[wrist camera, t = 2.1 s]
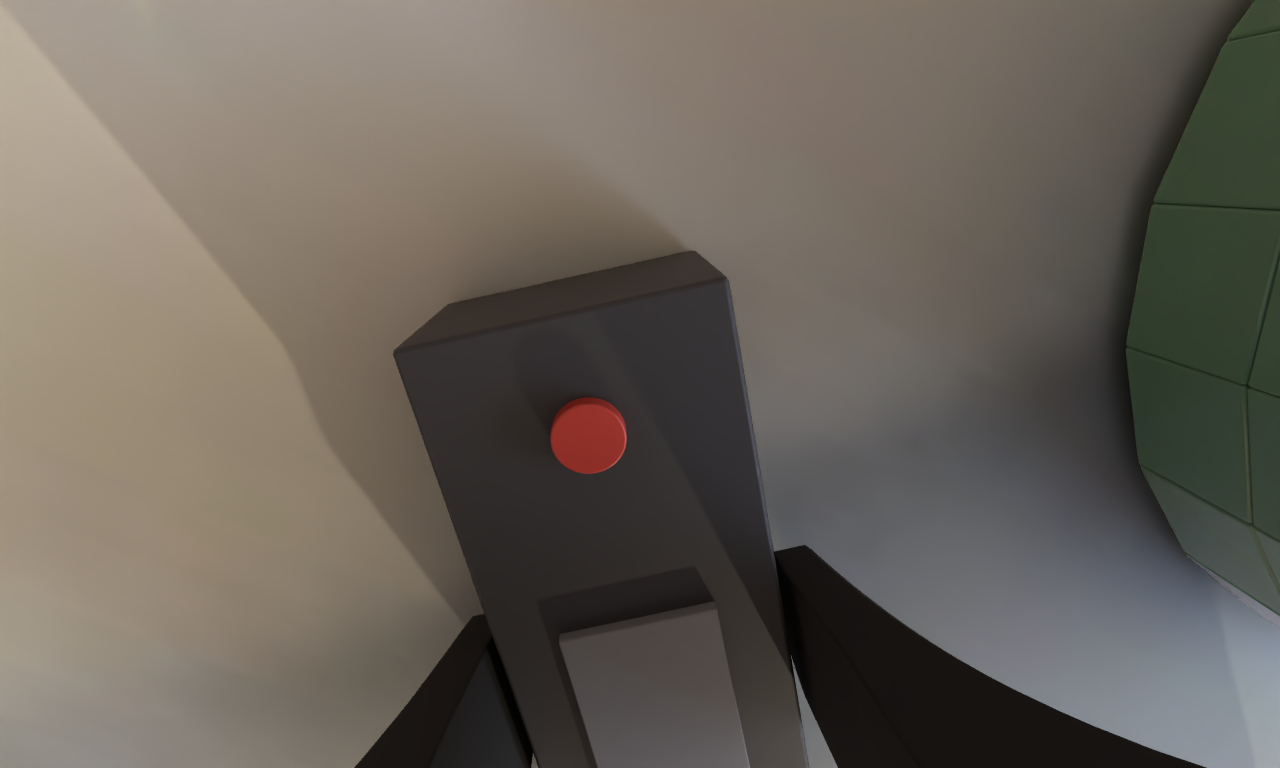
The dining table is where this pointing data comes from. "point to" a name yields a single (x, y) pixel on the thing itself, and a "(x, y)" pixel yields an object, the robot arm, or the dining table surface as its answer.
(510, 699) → the robot arm
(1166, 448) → the bowl
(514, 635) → the remote
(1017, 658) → the dining table surface
